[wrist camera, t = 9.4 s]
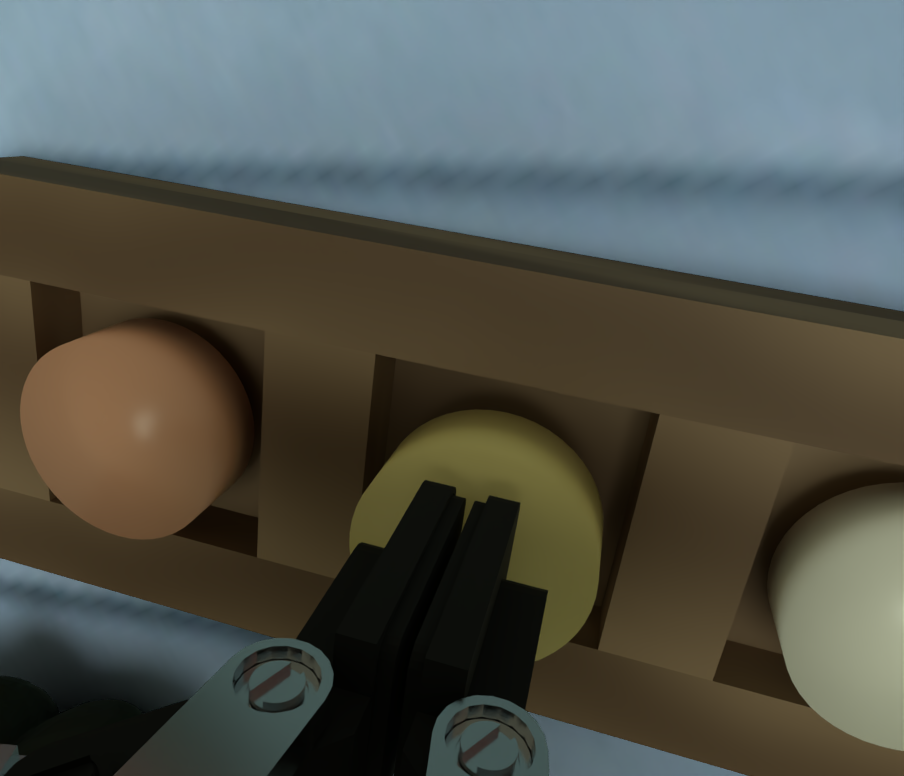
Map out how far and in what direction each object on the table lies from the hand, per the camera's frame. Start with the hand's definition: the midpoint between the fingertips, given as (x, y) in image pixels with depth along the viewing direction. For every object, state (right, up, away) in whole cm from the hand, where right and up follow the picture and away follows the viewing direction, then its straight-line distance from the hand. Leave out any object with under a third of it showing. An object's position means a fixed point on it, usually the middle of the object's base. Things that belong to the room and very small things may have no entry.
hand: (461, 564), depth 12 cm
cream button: (+9, -1, +2) cm, 9 cm away
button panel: (+1, +1, +5) cm, 5 cm away
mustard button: (+1, 0, +2) cm, 3 cm away
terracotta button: (-7, +2, +5) cm, 9 cm away
